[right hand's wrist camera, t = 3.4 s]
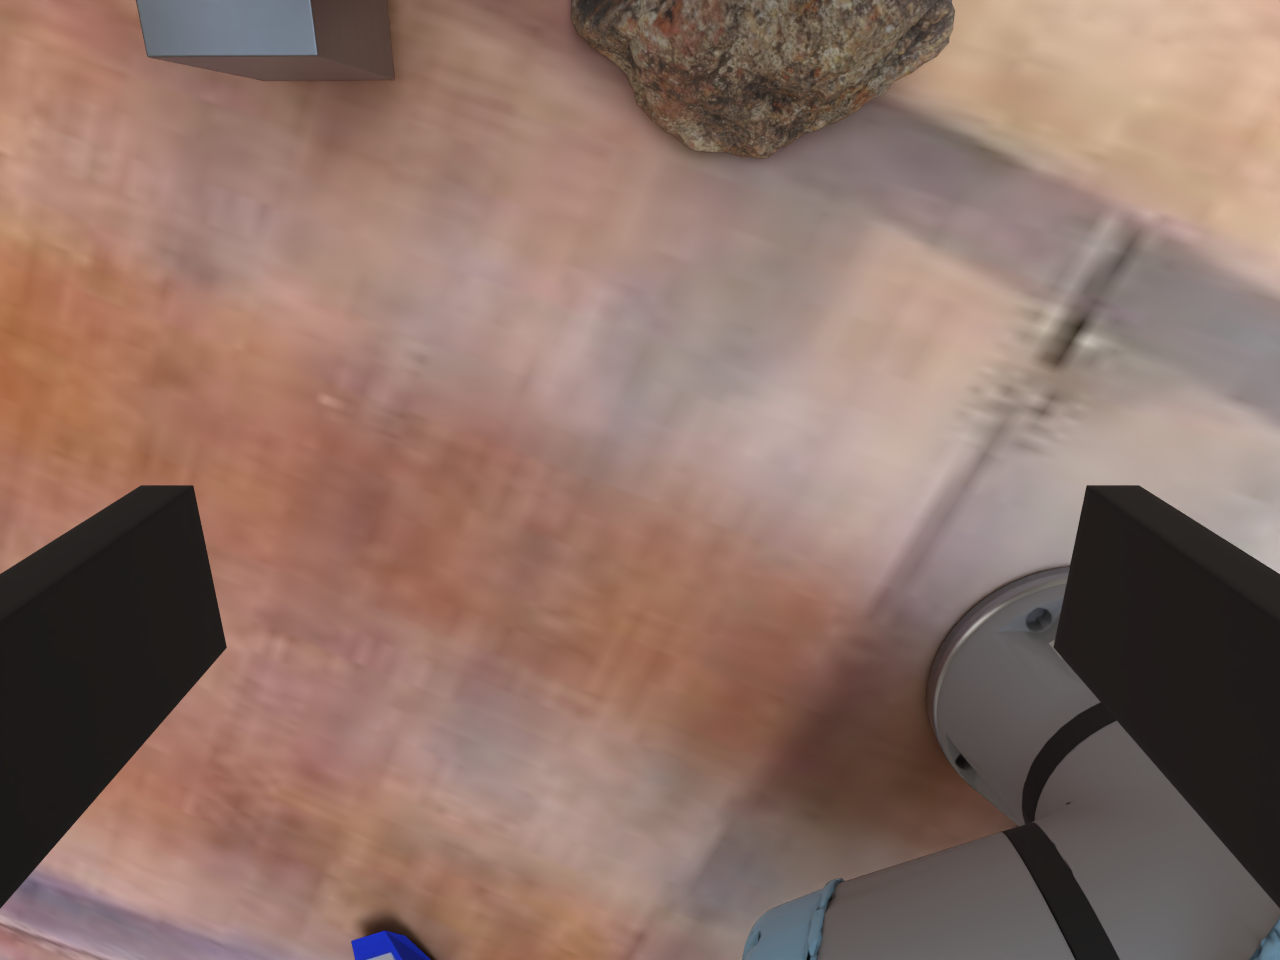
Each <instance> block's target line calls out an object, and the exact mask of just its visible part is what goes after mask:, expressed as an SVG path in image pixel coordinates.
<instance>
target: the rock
mask: <svg viewBox="0 0 1280 960" xmlns="http://www.w3.org/2000/svg"><path fill="white" fill-rule="evenodd" d="M571 2H572V8H571V18H572V21H573V24H574V26H575V28H576V31H577V33H578V34H579V35H580V36H582V37H583V38H584V39H585V40H587V41H588V42H589V44H590V46H591V47H593V48H595V49H597V50H598V52H599V53H601V54H602V55H604V56H606V57H607V58H609V59H610V60H612V61H613V62H614V63H615V64H616V65H618V66H619V67H620V68H621V69H622V70H623V71H624V72H625V73H626V74H627V76H628V79H629V81H630V84H631V86H632V88H633V89H634V91H635V100H636V103H637V105H638V106H640V107H642V108H643V110H644V111H645V113H646V114H647V115H648V116H649V117H650V118H651V119H652V121H653V122H655V123H656V124H658V125H659V126H660V127H661V128H662V129H663V130H665V131H666V132H667V133H670V134H673V135H674V136H675V137H677V138H678V139H679V140H680V141H681V142H682V143H683V144H685V145H686V146H688V147H689V148H691V149H693V150H695V151H703V152H716V153H717V152H720V153H724V152H727V153H731V154H734V155H737V156H743V157H746V156H751V157H754V158H769V157H770V156H771V155H773V154H774V153H775V152H777V150H778V149H779V148H780V147H785V146H787V145H789V144H790V143H791V142H792V141H794V140H796V139H797V138H799V137H801V136H802V135H803V134H805V133H808V132H812V131H816V130H818V129H820V128H822V127H824V126H826V125H829V124H832V123H835V122H837V121H839V120H841V119H843V118H845V117H847V116H849V115H851V114H853V113H854V112H856V111H858V110H859V109H860V108H861V107H862V106H863V105H864V104H865V103H867V102H868V101H869V100H871V99H873V98H876V97H878V96H880V95H882V94H884V93H886V91H887V90H888V88H889V87H890V85H891V84H892V83H893V82H894V81H896V80H898V79H900V78H902V77H904V76H906V75H909V74H911V73H912V72H914V71H915V70H916V69H918V68H919V67H920V66H921V65H923V64H924V63H926V62H928V61H930V60H931V59H933V58H935V57H937V56H938V54H939V53H940V52H941V51H942V50H943V49H944V47H945V46H946V45H947V44H948V43H949V36H950V34H951V32H952V30H953V22H954V14H955V10H954V7H953V5H952V0H571Z"/></svg>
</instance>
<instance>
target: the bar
mask: <svg viewBox="0 0 1280 960" xmlns="http://www.w3.org/2000/svg"><path fill="white" fill-rule="evenodd" d="M136 2H137V7H138V12H139V17H140V22H141V27H142V32H143V37H144V42H145V47H146V52H147V56H148V57H149V58H154V59H159V60H164V61H169V62H174V63H179V64H184V65H189V66H193V67H198V68H203V69H208V70H213V71H218V72H223V73H228V74H233V75H238V76H242V77H247V78H252V79H257V80H262V81H327V80H395V76H394V66H393V56H392V47H391V37H390V27H389V17H388V8H387V0H136Z"/></svg>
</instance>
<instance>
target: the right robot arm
mask: <svg viewBox="0 0 1280 960" xmlns="http://www.w3.org/2000/svg"><path fill="white" fill-rule="evenodd" d="M226 648H227V647H226V642H225V637H224V632H223V627H222V623H221V618H220V613H219V608H218V603H217V598H216V594H215V589H214V584H213V579H212V574H211V569H210V564H209V560H208V555H207V550H206V545H205V540H204V535H203V531H202V526H201V521H200V516H199V511H198V506H197V502H196V497H195V492H194V487H193V486H140V487H138V488H136V489H135V490H133V491H132V492H130V493H128V494H127V495H125V496H124V497H122V498H120V499H119V500H117V501H116V502H114V503H113V504H111V505H109V506H108V507H106V508H105V509H103V510H101V511H100V512H98V513H97V514H95V515H93V516H92V517H90V518H89V519H87V520H86V521H84V522H82V523H81V524H79V525H78V526H76V527H74V528H73V529H71V530H70V531H68V532H67V533H65V534H63V535H62V536H60V537H59V538H57V539H55V540H54V541H52V542H51V543H49V544H47V545H46V546H44V547H43V548H41V549H40V550H38V551H36V552H35V553H33V554H32V555H30V556H28V557H27V558H25V559H24V560H22V561H20V562H19V563H17V564H16V565H14V566H13V567H11V568H9V569H8V570H6V571H5V572H3V573H1V574H0V908H1V907H2V906H3V905H4V904H5V902H6V901H7V900H8V899H9V898H10V897H11V896H12V894H13V893H14V892H15V891H16V890H17V889H18V888H19V886H20V885H21V884H22V883H23V882H24V881H25V879H26V878H27V877H28V876H29V875H30V874H31V873H32V871H33V870H34V869H35V868H36V867H37V866H38V864H39V863H40V862H41V861H42V860H43V859H44V858H45V856H46V855H47V854H48V853H49V852H50V851H51V849H52V848H53V847H54V846H55V845H56V844H57V843H58V841H59V840H60V839H61V838H62V837H63V836H64V834H65V833H66V832H67V831H68V830H69V829H70V828H71V826H72V825H73V824H74V823H75V822H76V821H77V820H78V818H79V817H80V816H81V815H82V814H83V813H84V811H85V810H86V809H87V808H88V807H89V806H90V805H91V803H92V802H93V801H94V800H95V799H96V798H97V796H98V795H99V794H100V793H101V792H102V791H103V790H104V788H105V787H106V786H107V785H108V784H109V783H110V781H111V780H112V779H113V778H114V777H115V776H116V775H117V773H118V772H119V771H120V770H121V769H122V768H123V766H124V765H125V764H126V763H127V762H128V761H129V760H130V758H131V757H132V756H133V755H134V754H135V753H136V752H137V750H138V749H139V748H140V747H141V746H142V745H143V743H144V742H145V741H146V740H147V739H148V738H149V737H150V735H151V734H152V733H153V732H154V731H155V730H156V728H157V727H158V726H159V725H160V724H161V723H162V722H163V720H164V719H165V718H166V717H167V716H168V715H169V713H170V712H171V711H172V710H173V709H174V708H175V707H176V705H177V704H178V703H179V702H180V701H181V700H182V698H183V697H184V696H185V695H186V694H187V693H188V692H189V690H190V689H191V688H192V687H193V686H194V685H195V684H196V682H197V681H198V680H199V679H200V678H201V677H202V675H203V674H204V673H205V672H206V671H207V670H208V669H209V667H210V666H211V665H212V664H213V663H214V662H215V660H216V659H217V658H218V657H219V656H220V655H221V654H222V652H223V651H224V650H225V649H226ZM926 700H927V712H928V717H929V721H930V724H931V727H932V730H933V732H934V734H935V737H936V739H937V741H938V743H939V745H940V746H941V748H942V750H943V752H944V754H945V756H946V758H947V759H948V761H949V762H950V764H951V765H952V767H953V768H954V769H955V770H956V772H957V773H958V774H959V775H960V776H961V777H962V778H963V779H964V780H965V781H966V782H967V783H968V784H969V785H970V786H971V787H972V788H974V789H975V790H976V791H977V792H978V793H979V794H981V795H982V796H983V797H984V798H985V799H987V800H988V801H989V802H990V803H991V804H993V805H994V806H995V807H996V808H998V809H999V810H1000V811H1001V812H1002V813H1004V814H1005V815H1006V816H1007V817H1008V818H1010V819H1011V820H1012V821H1013V822H1014V823H1016V824H1017V825H1018V826H1019V827H1016V828H1013V829H1010V830H1007V831H1002V832H999V833H996V834H993V835H989V836H986V837H983V838H980V839H977V840H974V841H971V842H967V843H964V844H961V845H958V846H955V847H952V848H949V849H945V850H942V851H939V852H936V853H933V854H930V855H927V856H923V857H920V858H917V859H914V860H911V861H908V862H905V863H901V864H898V865H895V866H892V867H889V868H886V869H882V870H879V871H876V872H873V873H870V874H867V875H864V876H860V877H857V878H854V879H851V880H848V881H844V880H843V879H842V878H840V879H834V880H832V881H830V882H828V883H827V884H826V885H825V887H824V888H823V889H821V890H818V891H816V892H813V893H811V894H808V895H805V896H803V897H800V898H798V899H795V900H792V901H790V902H787V903H785V904H782V905H779V906H777V907H774V908H772V909H770V910H769V911H767V912H766V913H765V914H763V915H762V916H761V917H760V918H759V919H758V921H757V922H756V923H755V925H754V926H753V928H752V929H751V931H750V933H749V936H748V938H747V941H746V944H745V947H744V953H743V958H742V960H1280V574H1279V573H1277V572H1275V571H1274V570H1272V569H1271V568H1269V567H1267V566H1266V565H1264V564H1263V563H1261V562H1260V561H1258V560H1256V559H1255V558H1253V557H1252V556H1250V555H1248V554H1247V553H1245V552H1244V551H1242V550H1240V549H1239V548H1237V547H1236V546H1234V545H1233V544H1231V543H1229V542H1228V541H1226V540H1225V539H1223V538H1221V537H1220V536H1218V535H1217V534H1215V533H1213V532H1212V531H1210V530H1209V529H1207V528H1206V527H1204V526H1202V525H1201V524H1199V523H1198V522H1196V521H1194V520H1193V519H1191V518H1190V517H1188V516H1187V515H1185V514H1183V513H1182V512H1180V511H1179V510H1177V509H1175V508H1174V507H1172V506H1171V505H1169V504H1167V503H1166V502H1164V501H1163V500H1161V499H1160V498H1158V497H1156V496H1155V495H1153V494H1152V493H1150V492H1148V491H1147V490H1145V489H1144V488H1142V487H1140V486H1087V487H1086V492H1085V497H1084V501H1083V506H1082V511H1081V516H1080V521H1079V526H1078V531H1077V535H1076V540H1075V545H1074V550H1073V555H1072V560H1071V564H1070V567H1063V568H1057V569H1051V570H1047V571H1043V572H1039V573H1036V574H1033V575H1030V576H1027V577H1024V578H1022V579H1019V580H1017V581H1015V582H1012V583H1010V584H1008V585H1006V586H1005V587H1003V588H1001V589H999V590H997V591H996V592H994V593H992V594H991V595H989V596H988V597H986V598H985V599H984V600H982V601H981V602H980V603H978V604H977V605H976V606H975V607H973V608H972V609H971V610H970V611H969V612H968V613H967V614H966V615H965V616H964V617H963V618H962V619H961V620H960V621H959V622H958V623H957V624H956V625H955V627H954V628H953V629H952V631H951V632H950V633H949V634H948V636H947V637H946V639H945V641H944V642H943V644H942V645H941V647H940V649H939V651H938V653H937V655H936V657H935V660H934V662H933V665H932V668H931V671H930V675H929V679H928V685H927V698H926Z"/></svg>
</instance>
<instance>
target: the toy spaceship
mask: <svg viewBox="0 0 1280 960" xmlns="http://www.w3.org/2000/svg"><path fill="white" fill-rule="evenodd" d="M351 942H352V947H353V951H354V956H355V960H431V959H430V958H429V957H427V956H426V955H425V954H424V953H423V952H422V951H421V950H420V949H419V948H418V947H417V946H416V945H415V944H413V943H412V942H411V941H410V940H409V939H408V938H407V937H406V936H404V935H400V934H396V933H392V932H388V931H382V932H379V933H375V934H372V935H369V936H366V937H363V938H359V939H356V940H353V941H351Z"/></svg>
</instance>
